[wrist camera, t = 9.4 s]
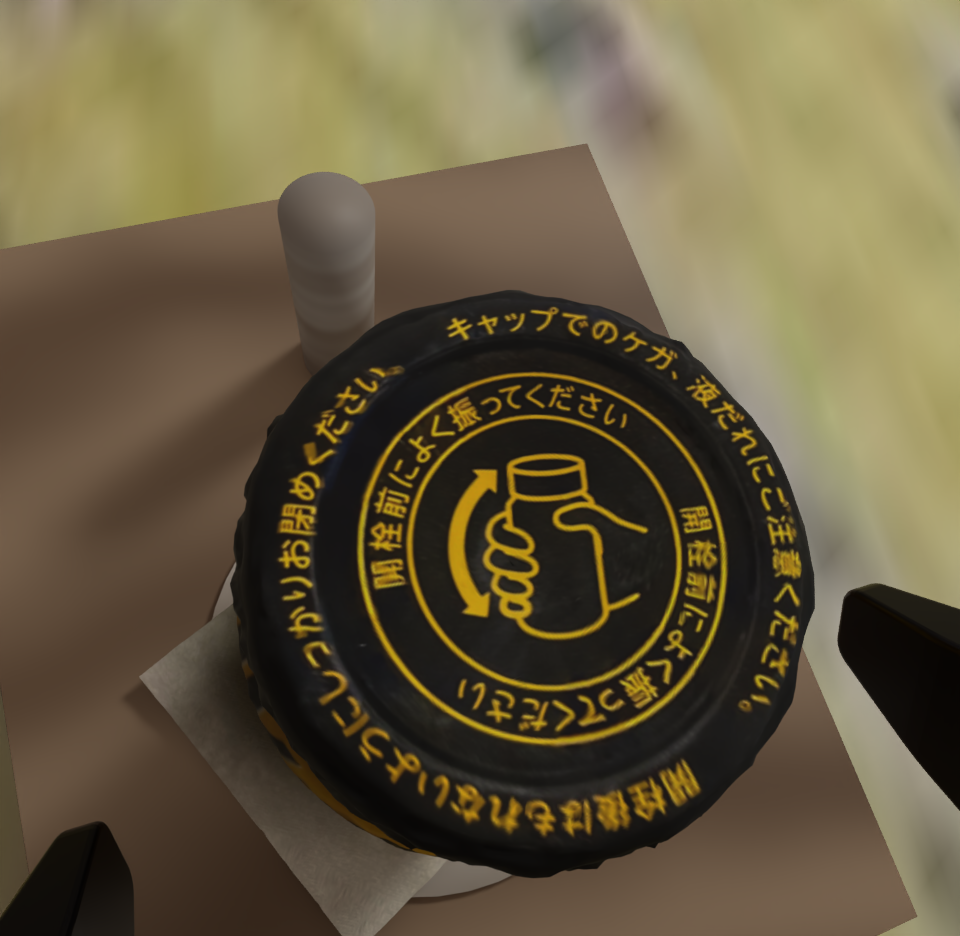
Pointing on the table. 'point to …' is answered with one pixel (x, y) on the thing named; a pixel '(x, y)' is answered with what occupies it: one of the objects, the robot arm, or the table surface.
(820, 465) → the table surface
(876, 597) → the robot arm
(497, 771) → the condiment
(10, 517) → the locating plate
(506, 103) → the table surface
